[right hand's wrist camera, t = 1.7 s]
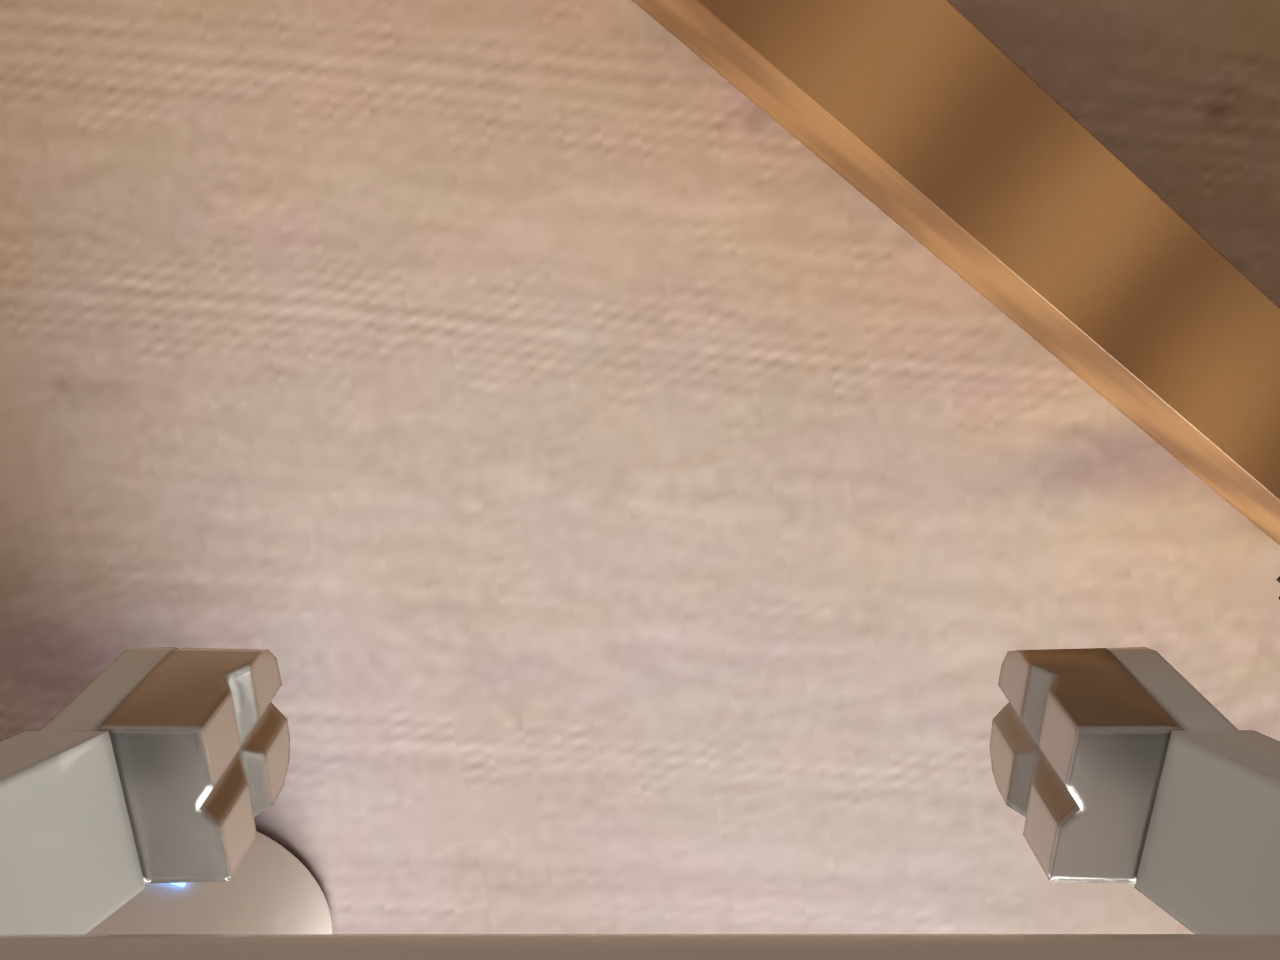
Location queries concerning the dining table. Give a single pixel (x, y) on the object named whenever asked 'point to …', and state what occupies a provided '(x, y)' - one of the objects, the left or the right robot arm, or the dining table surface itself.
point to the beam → (1021, 214)
